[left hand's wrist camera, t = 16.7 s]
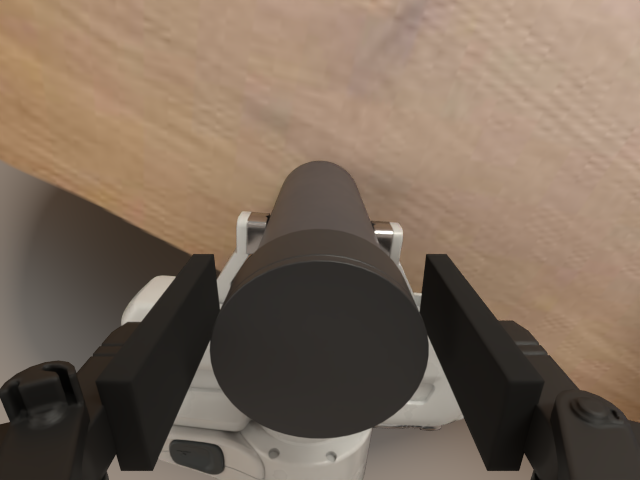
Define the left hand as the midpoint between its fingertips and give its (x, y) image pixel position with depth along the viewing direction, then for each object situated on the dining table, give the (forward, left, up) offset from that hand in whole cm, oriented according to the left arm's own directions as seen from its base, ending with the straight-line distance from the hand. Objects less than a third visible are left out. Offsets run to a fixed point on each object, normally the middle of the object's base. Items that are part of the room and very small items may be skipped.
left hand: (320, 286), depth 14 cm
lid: (0, 0, +4) cm, 4 cm away
